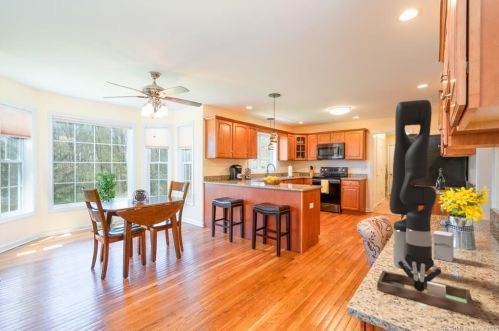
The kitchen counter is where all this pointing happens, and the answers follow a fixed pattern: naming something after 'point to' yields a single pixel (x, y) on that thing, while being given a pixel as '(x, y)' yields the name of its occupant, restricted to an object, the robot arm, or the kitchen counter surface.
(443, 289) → the cream block
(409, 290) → the channel
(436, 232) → the supplement box
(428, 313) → the kitchen counter surface
